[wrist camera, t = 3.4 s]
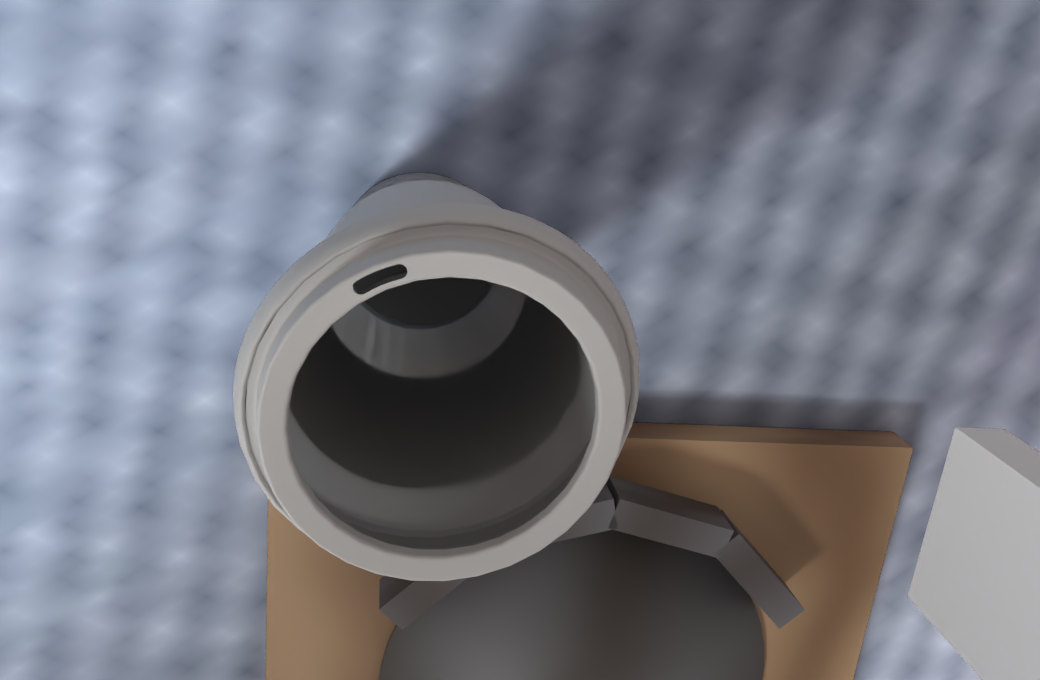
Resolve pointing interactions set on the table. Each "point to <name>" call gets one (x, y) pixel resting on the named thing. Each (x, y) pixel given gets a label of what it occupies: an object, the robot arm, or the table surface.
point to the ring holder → (629, 574)
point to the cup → (436, 384)
